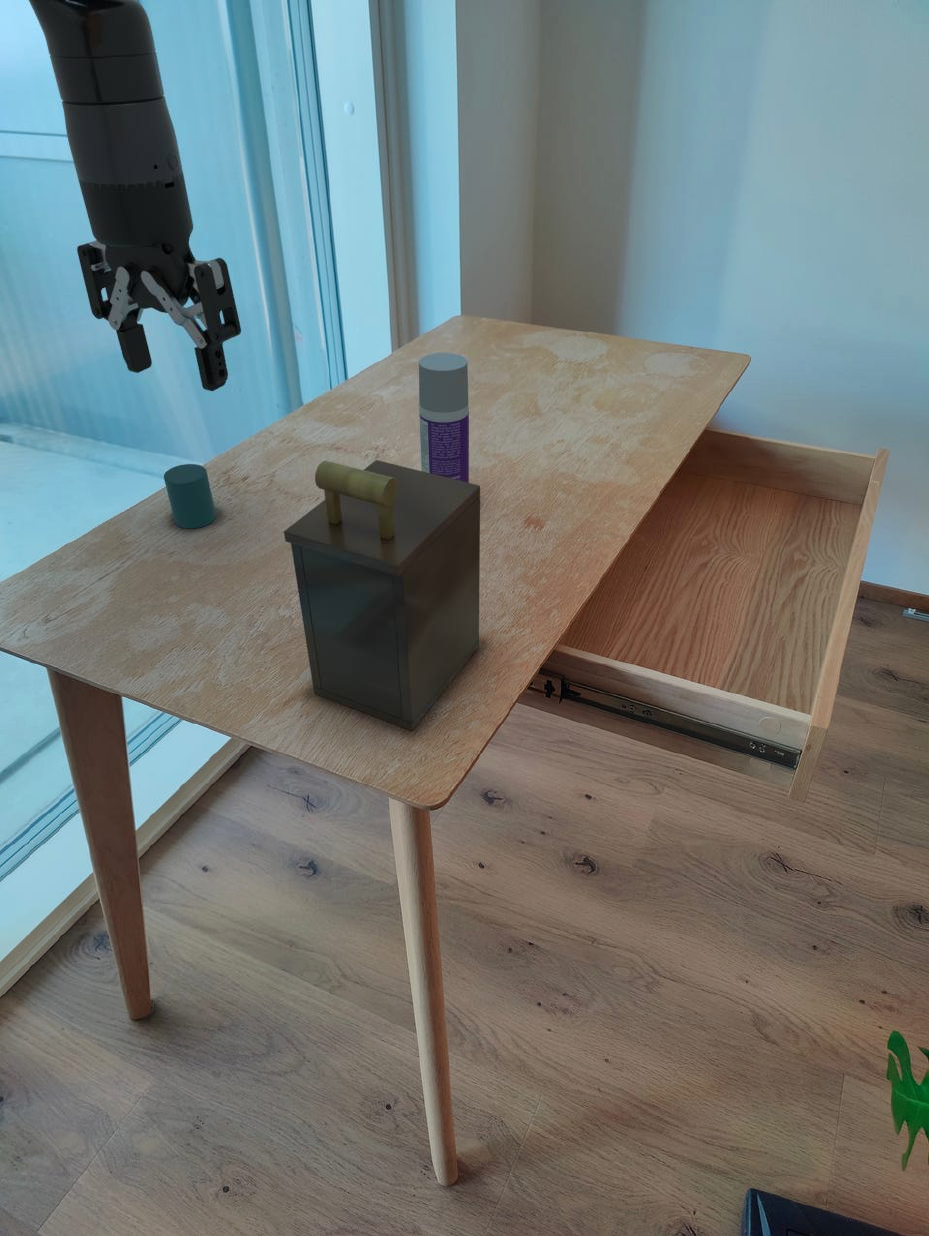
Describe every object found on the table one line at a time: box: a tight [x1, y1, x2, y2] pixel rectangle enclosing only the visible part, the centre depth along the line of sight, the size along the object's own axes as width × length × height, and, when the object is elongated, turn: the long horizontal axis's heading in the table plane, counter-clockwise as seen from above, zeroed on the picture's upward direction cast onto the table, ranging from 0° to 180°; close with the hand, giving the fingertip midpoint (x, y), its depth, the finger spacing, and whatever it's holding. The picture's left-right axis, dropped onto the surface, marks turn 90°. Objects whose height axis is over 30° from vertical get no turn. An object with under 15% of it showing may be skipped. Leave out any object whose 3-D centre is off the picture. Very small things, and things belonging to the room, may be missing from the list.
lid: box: [283, 459, 481, 576], centre depth 55 cm, size 11×9×5 cm
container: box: [418, 352, 470, 483], centre depth 80 cm, size 5×5×15 cm
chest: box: [290, 495, 481, 732], centre depth 61 cm, size 11×9×14 cm
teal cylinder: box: [163, 463, 217, 530], centre depth 82 cm, size 4×4×5 cm
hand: (177, 378), depth 72 cm, fingers open, 8 cm apart
